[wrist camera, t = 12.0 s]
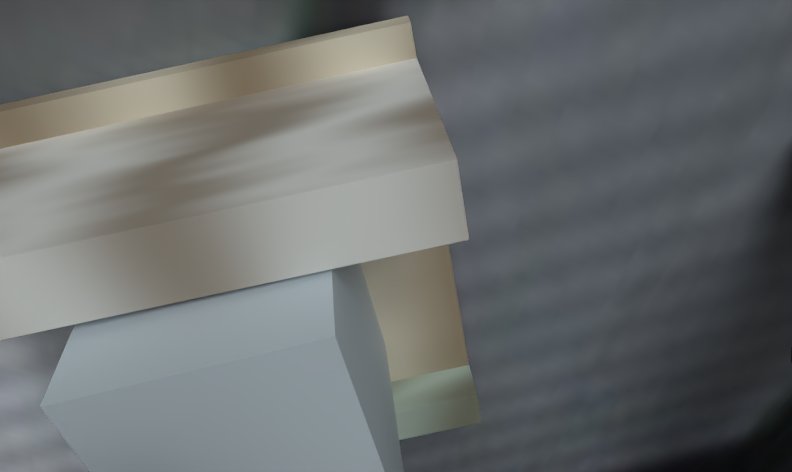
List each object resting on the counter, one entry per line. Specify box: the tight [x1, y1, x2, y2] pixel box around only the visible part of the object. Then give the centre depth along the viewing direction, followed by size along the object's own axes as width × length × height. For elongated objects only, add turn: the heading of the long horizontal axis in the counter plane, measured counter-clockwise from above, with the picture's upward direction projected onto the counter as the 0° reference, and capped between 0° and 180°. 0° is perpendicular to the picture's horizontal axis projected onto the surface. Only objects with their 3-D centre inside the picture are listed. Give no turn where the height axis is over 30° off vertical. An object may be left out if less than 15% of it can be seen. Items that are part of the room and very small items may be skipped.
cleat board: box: [0, 16, 482, 440], centre depth 20 cm, size 12×16×7 cm
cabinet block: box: [40, 263, 404, 472], centre depth 19 cm, size 6×9×8 cm, turn 12°
